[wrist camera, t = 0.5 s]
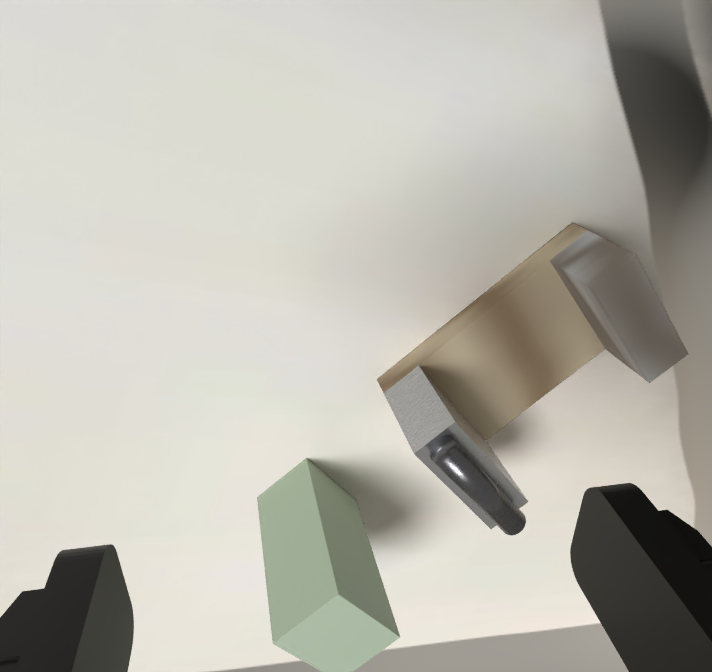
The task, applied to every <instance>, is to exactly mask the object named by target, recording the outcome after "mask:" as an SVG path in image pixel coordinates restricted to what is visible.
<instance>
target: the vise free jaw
mask: <svg viewBox="0 0 712 672" xmlns="http://www.w3.org/2000/svg"><path fill="white" fill-rule="evenodd" d="M384 395H385V397H386V399H387V401H388V403H389V405H390V407H391V409H392V411H393V413H394V415H395V417H396V419H397V421H398V423H399V425H400V427H401V429H402V431H403V433H404V435H405V437H406V439H407V441H408V443H409V445H410V447H411V449H412V451H413V453H414V454H415V455H416V456H417V457H418V458H419V459H420V460H421V461H422V462H423V463H424V464H425V465H426V466H427V467H428V468H429V469H430V470H431V471H432V472H433V473H434V474H435V475H436V476H437V477H438V478H439V479H440V480H441V481H442V482H443V483H444V484H445V485H447V486H448V487H449V488H450V489H451V490H452V491H453V492H454V493H455V494H456V495H457V496H458V497H459V498H460V499H461V500H462V501H463V502H464V503H465V504H466V505H467V506H468V507H469V508H470V509H471V510H472V511H473V512H474V513H475V514H476V515H477V516H478V517H479V518H480V519H481V520H482V521H483V522H484V523H485V524H486V525H487V526H488V527H489V528H490V529H492V528H493V527H495V526H496V525H497V526H498V527H499V528H500V529H501V530H502V531H503V532H504V533H506V534H508V535H516V534H518V533H519V532H521V531H522V530H523V528H524V526H525V523H526V518H525V515H524V514H523V513H522V512H521V511H520V510H519V508H520V507H522V506H523V505H524V504H526V503H527V502H528V500H527V499H526V498H525V496H524V495H523V493H522V492H521V490H520V489H519V488H518V486H517V485H516V483H515V482H514V480H513V479H512V478H511V476H510V475H509V473H508V472H507V470H506V469H505V467H504V466H503V465H502V463H501V462H500V460H499V459H498V457H497V456H496V455H495V453H494V452H493V450H492V449H491V447H490V446H489V444H488V443H487V442H486V440H485V439H484V438H483V437H482V436H481V435H480V433H479V432H478V431H477V430H476V429H475V428H474V427H473V426H472V425H471V423H470V422H469V421H468V420H467V419H466V418H465V417H464V416H463V414H462V413H461V412H460V411H459V410H458V409H457V408H456V407H455V406H454V404H453V403H452V402H451V401H450V400H449V399H448V398H447V397H446V395H445V394H444V393H443V392H442V391H441V390H440V389H439V388H438V387H437V385H436V384H435V383H434V382H433V381H432V380H431V379H430V378H429V376H428V375H427V374H426V373H425V372H424V371H423V370H422V369H421V368H420V366H419V365H418V366H417V367H416V368H415V369H413V370H412V371H411V372H410V373H408V374H407V375H406V376H405V377H403V378H402V379H401V380H400V381H398V382H397V383H396V384H395V385H393V386H392V387H391V388H390V389H388V390H387V391H386V392H385V393H384Z"/></svg>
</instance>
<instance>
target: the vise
mask: <svg viewBox="0 0 712 672" xmlns="http://www.w3.org/2000/svg"><path fill="white" fill-rule="evenodd" d="M604 349H606V350H607V351H609V352H610V353H611V354H613V355H614V356H615V357H617V358H618V359H619V360H620V361H622V362H623V363H624V364H626V365H627V366H628V367H629V368H631V369H632V370H633V371H635V372H636V373H637V374H639V375H640V376H641V377H642V378H644V379H645V380H646V381H648V382H649V383H650V382H651V381H653V380H654V379H655V378H657V377H658V376H659V375H661V374H662V373H663V372H665V371H666V370H667V369H669V368H670V367H671V366H673V365H674V364H676V363H677V362H678V361H680V360H681V359H682V358H683V357H685V356H686V355H687V354H688V352H687V350H686V349H685V346H684V345H683V343H682V341H681V339H680V337H679V335H678V333H677V331H676V329H675V327H674V326H673V324H672V322H671V320H670V318H669V316H668V314H667V312H666V310H665V309H664V307H663V305H662V303H661V301H660V299H659V297H658V295H657V293H656V291H655V290H654V288H653V286H652V284H651V282H650V280H649V278H648V276H647V274H646V272H645V271H644V269H643V267H642V265H641V263H640V261H639V259H638V257H637V255H636V254H634V253H632V252H630V251H628V250H626V249H624V248H622V247H620V246H618V245H616V244H614V243H612V242H610V241H608V240H606V239H604V238H602V237H600V236H598V235H596V234H594V233H592V232H590V231H588V230H586V229H584V228H582V227H580V226H578V225H576V224H574V223H571V224H570V225H569V226H567V227H566V228H565V229H564V230H562V231H561V232H560V233H559V234H558V235H556V236H555V237H554V238H553V239H551V240H550V241H549V242H548V243H546V244H545V245H544V246H543V247H541V248H540V249H539V250H538V251H536V252H535V253H534V254H533V255H531V256H530V257H529V258H528V259H526V260H525V261H524V262H523V263H521V264H520V265H519V266H518V267H516V268H515V269H514V270H513V271H511V272H510V273H509V274H508V275H507V276H505V277H504V278H503V279H502V280H500V281H499V282H498V283H497V284H495V285H494V286H493V287H492V288H490V289H489V290H488V291H487V292H485V293H484V294H483V295H482V296H480V297H479V298H478V299H477V300H475V301H474V302H473V303H472V304H470V305H469V306H468V307H467V308H465V309H464V310H463V311H462V312H460V313H459V314H458V315H457V316H456V317H454V318H453V319H452V320H451V321H449V322H448V323H447V324H446V325H444V326H443V327H442V328H441V329H439V330H438V331H437V332H436V333H434V334H433V335H432V336H431V337H429V338H428V339H427V340H426V341H424V342H423V343H422V344H421V345H419V346H418V347H417V348H416V349H414V350H413V351H412V352H411V353H410V354H408V355H407V356H406V357H405V358H403V359H402V360H401V361H400V362H398V363H397V364H396V365H395V366H393V367H392V368H391V369H390V370H388V371H387V372H386V373H385V374H383V375H382V376H381V377H380V378H378V379H377V381H378V383H379V385H380V387H381V389H382V391H383V393H385V392H386V391H387V390H388V389H390V388H391V387H392V386H393V385H395V384H396V383H397V382H398V381H400V380H401V379H402V378H403V377H405V376H406V375H407V374H408V373H410V372H411V371H412V370H413V369H415V368H416V367H417V366H418V365H419V366H420V368H421V369H422V370H423V371H424V372H425V373H426V374H427V375H428V376H429V378H430V379H431V380H432V381H433V382H434V383H435V384H436V385H437V387H438V388H439V389H440V390H441V391H442V392H443V393H444V394H445V395H446V397H447V398H448V399H449V400H450V401H451V402H452V403H453V404H454V406H455V407H456V408H457V409H458V410H459V411H460V412H461V413H462V414H463V416H464V417H465V418H466V419H467V420H468V421H469V422H470V423H471V425H472V426H473V427H474V428H475V429H476V430H477V431H478V432H479V433H480V435H481V436H482V437H483V438H484V439H485V440H487V439H488V438H489V437H491V436H492V435H493V434H494V433H496V432H497V431H498V430H500V429H501V428H502V427H504V426H505V425H506V424H508V423H509V422H510V421H511V420H513V419H514V418H515V417H517V416H518V415H519V414H521V413H522V412H523V411H525V410H526V409H527V408H528V407H530V406H531V405H532V404H534V403H535V402H536V401H538V400H539V399H540V398H542V397H543V396H544V395H545V394H547V393H548V392H549V391H551V390H552V389H553V388H555V387H556V386H557V385H559V384H560V383H561V382H562V381H564V380H565V379H566V378H568V377H569V376H570V375H572V374H573V373H574V372H576V371H577V370H578V369H579V368H581V367H582V366H583V365H585V364H586V363H587V362H589V361H590V360H591V359H593V358H594V357H595V356H596V355H598V354H599V353H600V352H602V351H603V350H604Z"/></svg>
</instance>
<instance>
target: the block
mask: <svg viewBox="0 0 712 672" xmlns="http://www.w3.org/2000/svg"><path fill="white" fill-rule="evenodd" d="M257 501H258V510H259V519H260V529H261V538H262V547H263V557H264V566H265V575H266V584H267V594H268V603H269V612H270V622H271V631H272V640H273V644H275V645H276V646H278V647H280V648H281V649H283V650H285V651H287V652H288V653H290V654H292V655H294V656H295V657H297V658H299V659H300V660H302V661H304V662H306V663H307V664H309V665H311V666H313V667H315V668H316V669H318V670H320V671H321V672H353V671H354V670H356V669H357V668H358V667H360V666H361V665H362V664H364V663H365V662H367V661H368V660H369V659H371V658H372V657H374V656H375V655H376V654H378V653H379V652H380V651H382V650H383V649H385V648H386V647H387V646H389V645H390V644H391V643H393V642H394V641H396V640H397V639H398V638H400V635H399V632H398V629H397V626H396V623H395V620H394V617H393V614H392V610H391V607H390V604H389V601H388V598H387V595H386V592H385V589H384V586H383V582H382V579H381V576H380V573H379V570H378V567H377V564H376V561H375V558H374V555H373V551H372V548H371V545H370V542H369V539H368V536H367V533H366V530H365V527H364V524H363V520H362V517H361V514H360V511H359V508H358V505H357V502H356V499H354V498H353V497H352V496H351V495H350V494H348V493H347V492H346V491H345V490H344V489H342V488H341V487H340V486H339V485H338V484H336V483H335V482H334V481H333V480H332V479H330V478H329V477H328V476H327V475H326V474H325V473H323V472H322V471H321V470H320V469H319V468H317V467H316V466H315V465H314V464H313V463H311V462H310V461H309V460H308V459H307V458H306V459H305V460H303V461H302V462H301V463H300V464H298V465H297V466H296V467H295V468H293V469H292V470H291V471H290V472H288V473H287V474H286V475H285V476H283V477H282V478H281V479H279V480H278V481H277V482H276V483H274V484H273V485H272V486H271V487H269V488H268V489H267V490H266V491H264V492H263V493H262V494H261V495H259V496H258V497H257Z"/></svg>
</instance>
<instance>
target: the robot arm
mask: <svg viewBox="0 0 712 672" xmlns="http://www.w3.org/2000/svg"><path fill="white" fill-rule="evenodd" d="M570 554H571V563H572V568H573V572H574V575H575V578H576V580H577V582H578V584H579V586H580V588H581V589H582V591H583V593H584V595H585V596H586V598H587V600H588V601H589V603H590V605H591V607H592V608H593V610H594V612H595V614H596V615H597V617H598V619H599V620H600V622H601V624H602V626H603V627H604V629H605V631H606V633H607V634H608V636H609V638H610V639H611V641H612V643H613V645H614V646H615V648H616V650H617V651H618V653H619V655H620V657H621V658H622V660H623V662H624V664H625V665H626V667H627V669H628V670H629V672H712V547H711V546H710V545H709V543H708V542H707V541H706V540H705V539H704V538H703V536H702V535H701V534H700V533H699V532H698V531H697V530H696V529H694V528H693V527H691V526H690V525H689V524H687V523H686V522H684V521H683V520H681V519H680V518H678V517H677V516H676V515H674V514H673V513H671V512H670V511H668V510H662V511H658V510H657V509H656V507H655V506H654V505H653V504H652V503H651V501H650V500H649V499H648V498H647V497H646V495H645V494H644V493H643V492H642V491H641V490H640V489H639V488H638V487H637V486H636V485H634V484H631V483H626V484H617V485H609V486H601V487H593V488H589V489H587V490H586V491H585V493H584V496H583V500H582V504H581V508H580V512H579V516H578V520H577V524H576V528H575V532H574V536H573V540H572V544H571V551H570ZM133 631H134V620H133V609H132V604H131V601H130V597H129V594H128V590H127V587H126V583H125V580H124V576H123V573H122V569H121V566H120V562H119V559H118V555H117V552H116V549H115V547H114V546H113V545H111V544H110V545H102V546H94V547H86V548H77V549H69V550H62V551H61V552H59V554H58V555H57V557H56V559H55V561H54V564H53V566H52V569H51V572H50V575H49V577H48V580H47V583H46V586H45V588H44V589H38V590H31V591H23V592H22V593H21V594H20V595H19V596H18V597H17V599H16V600H15V601H14V602H13V603H12V604H11V606H10V607H9V608H8V609H7V610H6V612H5V613H4V614H3V615H2V616H1V618H0V672H127V671H128V666H129V660H130V655H131V650H132V643H133Z"/></svg>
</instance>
